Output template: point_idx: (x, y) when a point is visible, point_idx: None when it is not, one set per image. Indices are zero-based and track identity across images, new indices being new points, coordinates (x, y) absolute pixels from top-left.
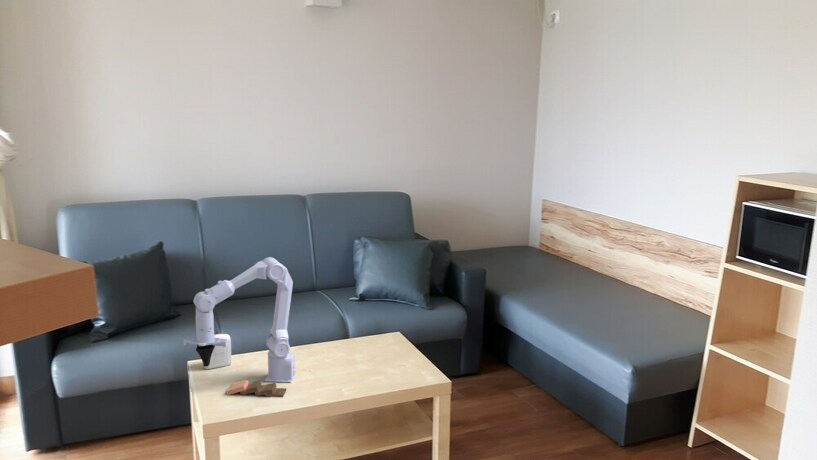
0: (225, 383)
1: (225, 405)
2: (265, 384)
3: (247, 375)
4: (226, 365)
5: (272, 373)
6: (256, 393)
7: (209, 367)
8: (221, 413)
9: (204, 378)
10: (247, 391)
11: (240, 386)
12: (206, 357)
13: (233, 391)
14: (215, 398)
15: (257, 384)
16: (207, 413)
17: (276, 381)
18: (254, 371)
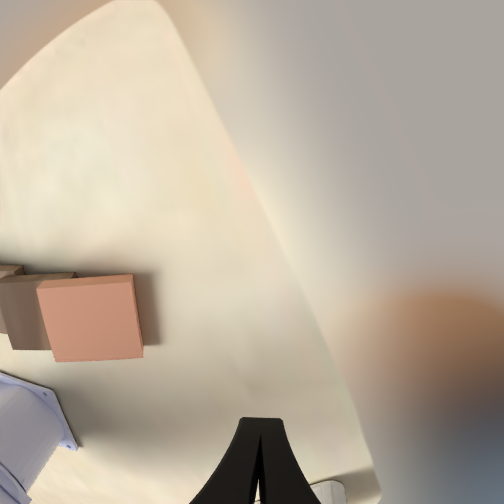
0: (202, 393)
1: (105, 150)
2: (4, 333)
3: (143, 445)
4: (259, 501)
5: (18, 406)
6: (11, 268)
7: (319, 487)
8: (102, 66)
9: (322, 428)
10: (38, 277)
11: (54, 295)
12: (228, 493)
13: (98, 280)
14: (185, 227)
15: (3, 312)
16: (171, 49)
17: (19, 380)
18: (135, 465)
